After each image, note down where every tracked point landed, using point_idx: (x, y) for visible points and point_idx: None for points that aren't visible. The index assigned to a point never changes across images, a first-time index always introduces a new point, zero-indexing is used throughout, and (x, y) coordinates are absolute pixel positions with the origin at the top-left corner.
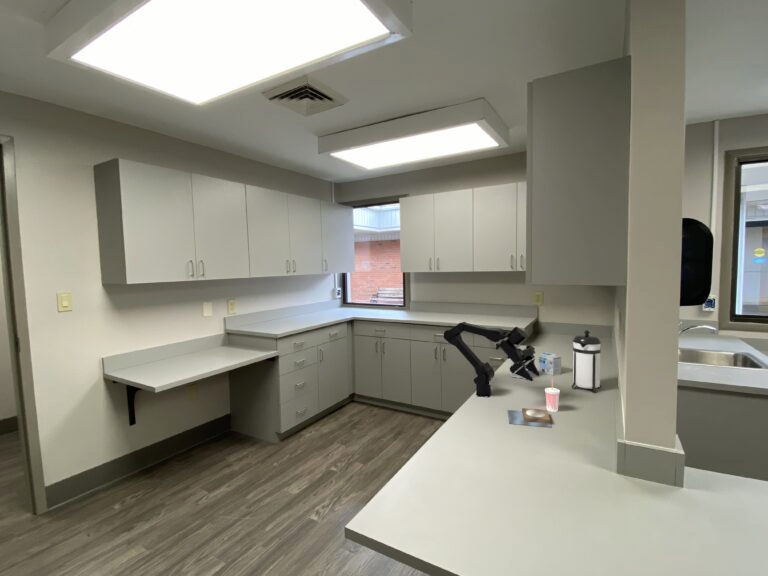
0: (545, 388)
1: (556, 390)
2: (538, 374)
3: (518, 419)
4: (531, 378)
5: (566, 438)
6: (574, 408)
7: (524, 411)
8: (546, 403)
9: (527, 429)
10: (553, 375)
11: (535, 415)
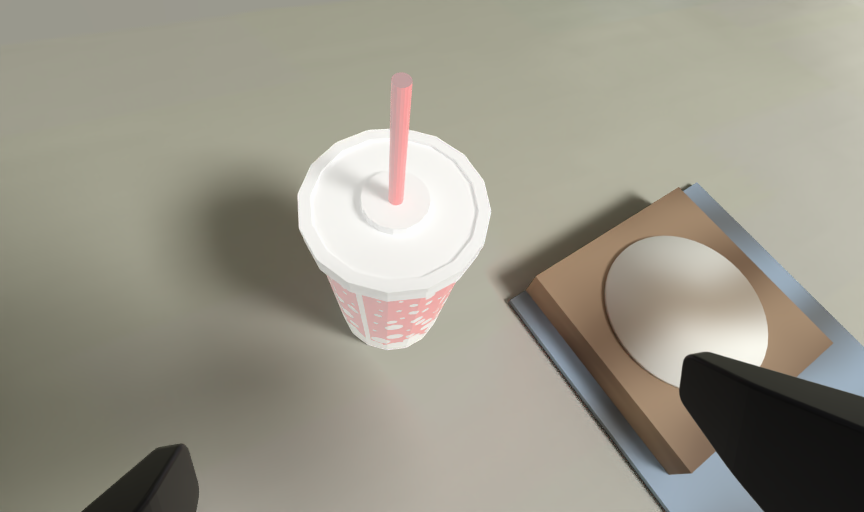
0: (401, 289)
1: (367, 167)
2: (182, 472)
3: None
4: (760, 371)
5: (729, 92)
6: (237, 189)
7: None
8: (431, 320)
9: (857, 281)
10: None
11: (725, 288)
